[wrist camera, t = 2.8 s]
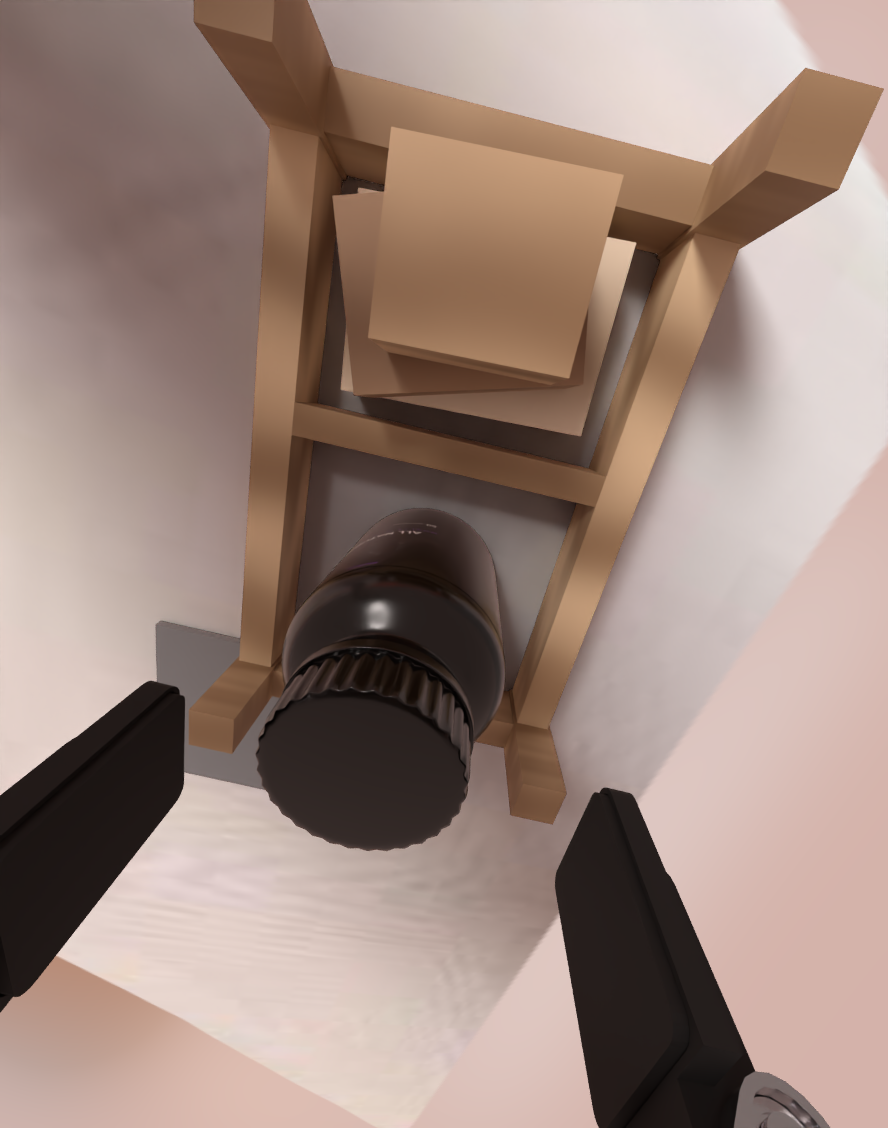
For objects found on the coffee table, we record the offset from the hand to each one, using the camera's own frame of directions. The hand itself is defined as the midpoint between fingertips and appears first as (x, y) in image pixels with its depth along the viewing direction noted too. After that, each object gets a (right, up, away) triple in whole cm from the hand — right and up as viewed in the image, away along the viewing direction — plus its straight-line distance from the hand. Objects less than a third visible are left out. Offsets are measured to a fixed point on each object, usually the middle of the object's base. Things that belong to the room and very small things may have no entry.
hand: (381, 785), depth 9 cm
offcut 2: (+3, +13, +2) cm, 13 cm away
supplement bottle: (0, +5, +11) cm, 12 cm away
